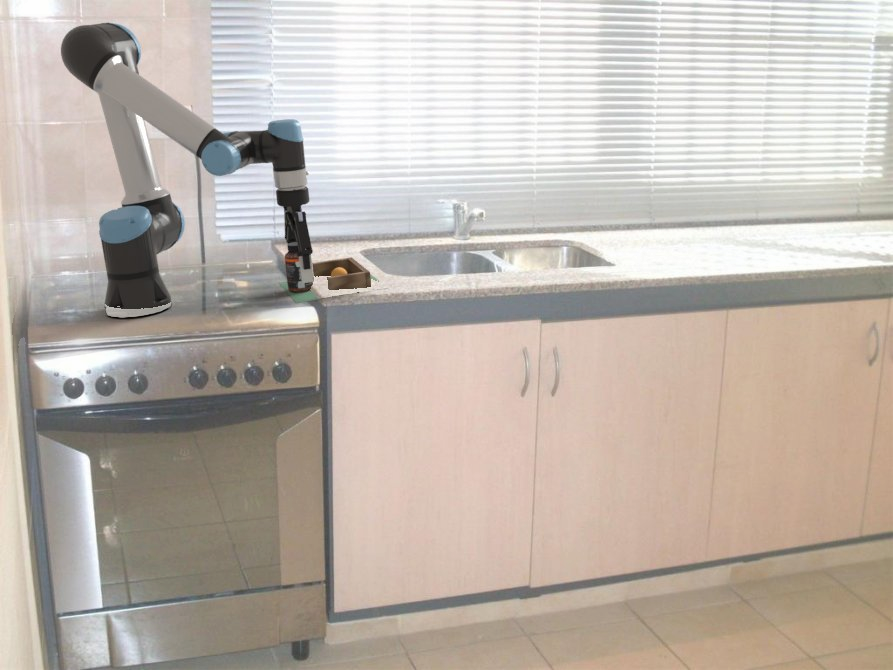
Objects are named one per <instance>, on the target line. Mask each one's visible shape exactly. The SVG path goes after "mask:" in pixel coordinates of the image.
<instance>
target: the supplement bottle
mask: <svg viewBox="0 0 893 670" xmlns="http://www.w3.org/2000/svg"><path fill="white" fill-rule="evenodd" d="M286 247H287V252H286V253H285V255H284V262H285V273H286V274H285V275H286V280H287V281H286V282H287V283H288V289H289V291H291V292H305V291H309V290H310V289H311V286H312V285H313V282H308V283H302V280H301V271H300V262H299V257H297V253H299V249H298V245H297V242H293V243H289V244H287V246H286Z"/></svg>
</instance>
